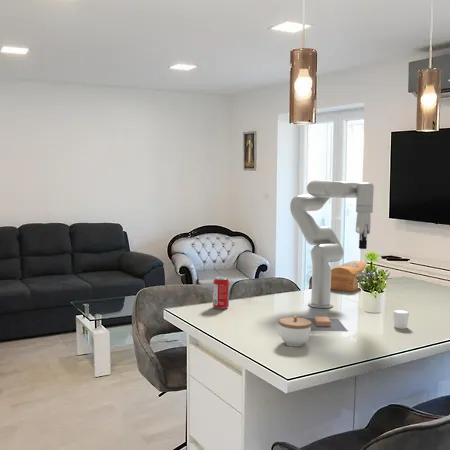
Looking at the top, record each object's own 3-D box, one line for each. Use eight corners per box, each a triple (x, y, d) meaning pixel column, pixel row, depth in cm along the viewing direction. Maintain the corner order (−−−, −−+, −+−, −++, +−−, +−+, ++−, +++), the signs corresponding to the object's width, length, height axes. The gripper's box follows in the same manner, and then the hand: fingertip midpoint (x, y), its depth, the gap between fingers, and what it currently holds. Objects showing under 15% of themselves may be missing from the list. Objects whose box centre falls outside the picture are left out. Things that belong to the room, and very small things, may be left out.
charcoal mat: (298, 319, 256) (299, 318, 256) (337, 320, 257) (338, 318, 257) (305, 331, 237) (305, 330, 237) (347, 332, 237) (347, 331, 237)
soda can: (210, 308, 273) (211, 278, 271) (215, 305, 280) (216, 275, 279) (225, 310, 270) (226, 279, 269) (230, 306, 277) (231, 277, 276)
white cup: (410, 326, 249) (410, 310, 249) (406, 329, 243) (407, 314, 243) (394, 323, 253) (395, 308, 252) (390, 327, 247) (391, 311, 246)
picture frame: (314, 316, 251) (317, 321, 243) (327, 316, 251) (330, 321, 243) (313, 321, 251) (316, 326, 244) (327, 321, 252) (330, 326, 244)
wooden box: (343, 281, 353) (344, 259, 351) (368, 284, 344) (369, 262, 343) (325, 288, 327) (326, 265, 326) (352, 292, 319) (354, 268, 317)
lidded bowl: (316, 344, 220) (317, 316, 219) (298, 351, 211) (299, 322, 210) (290, 337, 228) (291, 310, 227) (272, 343, 219) (272, 316, 218)
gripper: (352, 208, 265) (351, 246, 267) (359, 210, 250) (357, 250, 252) (368, 208, 265) (367, 246, 267) (376, 210, 250) (374, 251, 252)
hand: (362, 248), depth 259 cm, fingers closed
